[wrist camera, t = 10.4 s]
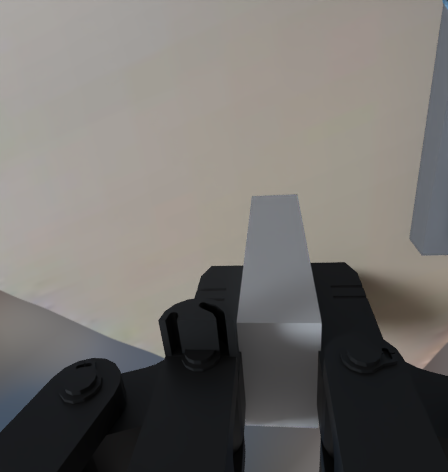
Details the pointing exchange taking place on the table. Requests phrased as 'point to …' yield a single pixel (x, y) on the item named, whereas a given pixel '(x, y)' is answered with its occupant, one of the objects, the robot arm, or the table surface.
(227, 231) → the table surface
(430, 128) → the switch strip
